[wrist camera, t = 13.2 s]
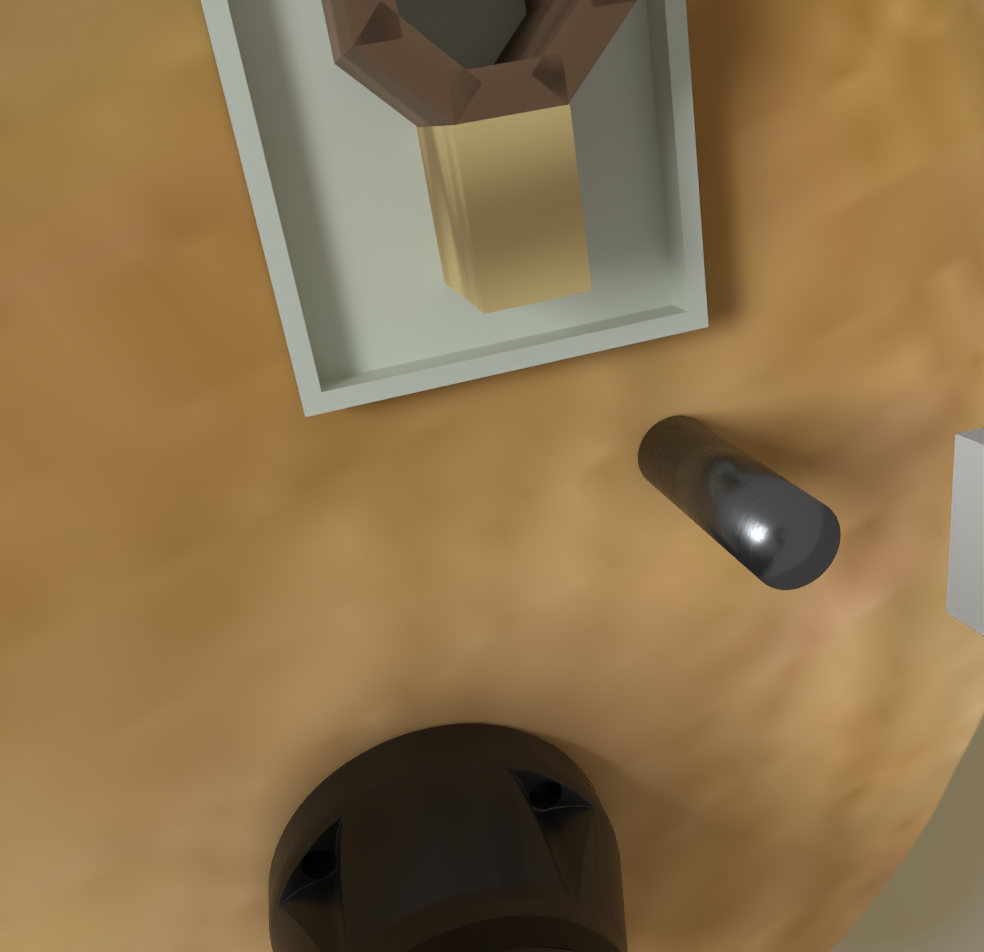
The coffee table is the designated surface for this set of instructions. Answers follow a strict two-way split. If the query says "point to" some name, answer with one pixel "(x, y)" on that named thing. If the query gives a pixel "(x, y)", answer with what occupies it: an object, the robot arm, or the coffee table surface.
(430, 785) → the robot arm
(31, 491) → the coffee table surface
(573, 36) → the brown octagonal handled piece
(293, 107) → the tray
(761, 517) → the cylinder
